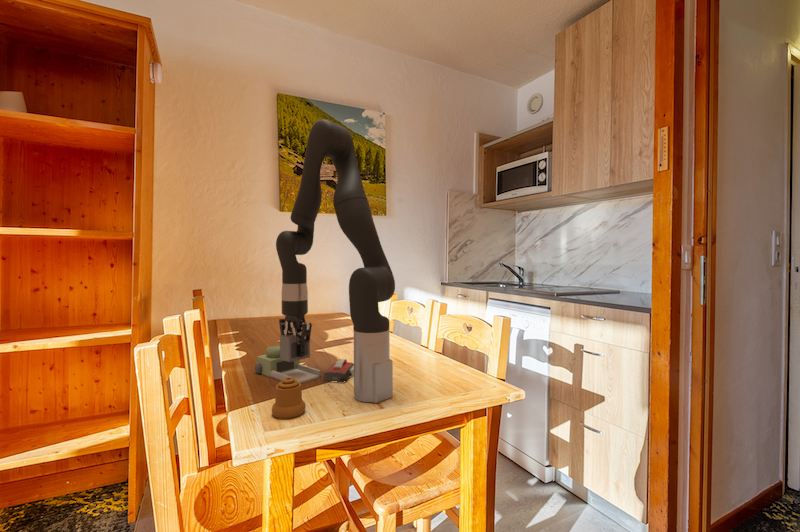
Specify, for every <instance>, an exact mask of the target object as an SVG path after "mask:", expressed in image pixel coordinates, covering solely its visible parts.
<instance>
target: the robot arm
mask: <svg viewBox="0 0 800 532" xmlns="http://www.w3.org/2000/svg"><path fill="white" fill-rule="evenodd" d="M307 137H308V138H307V141H306V147H305V148H306V149H305V155H304V160H303V164H302V165H303V166H302V173H301V179H300V183H299V187H298V191H297V195H296V198H295V201H294V204H293V208H292V210H291V213H290V221H291V222H292V223H293V224H295V225H296V226H297V228H296V229H297V230H296V231H294V230H283V231H281V232H280V233H278V236H277V237H276V241H275V249H276V252H277V253H276V254H277V256H278V260H279V264H280V267H281V270H282V271H281V275H282V276H281V279H282V280H281V281H282V282H281V314H282V316H285V317H284V318H279V319H278V322H279V329H280V330H279V331H280V335H288V334H293V335H294V337H296V342H297V357H303V356H304V355H305V343H307V342H311V334H312V327H313V324H312V322H307V321H306V319H305V316H306V315H307V314H308V313H309V305H308V303H309V301H308V299H309V295H308V285H307V283H308V281H307V280H308V279H307V276H308V275H307V273H308V272H307V266H306V264H304V263H301V262H299V261H298V259H297V256H303V255H306V254H308V253H309V252H310V251H311V250H312V247H313V243H314V236H315V234H314V232H315V223H316V219H317V216H318V213H319V211H320V208H321V206H322V196H323V192H322V185H321V184H322V183H321V171H322V170H321V169H322V165H323V162H324V160H325V158H329V159H331V161H332V162H333V165H334V168H335V172H336V177H337V182H336V186H335V189H334V193H333V197H332V199H333V200H332V203H333V209H334V212H335V215H336V220H337V222H338V225H339V228H340V230H341V231H342V232H343V234H344V235H345V236H346V238H347V239H348V240H349V241H350V242H351V244H352V245H353V246H354V248H355V249H356V251H357V252H358V254H359V256H360V258H361V261H362V264H363V267H359V268H357V269H355V270H354V271H353V272H352V274H351V275H350V278H349V281H348V282H349V283H348V299H349V300H348V301H349V311H350V312H349V315H350V319H351V321H352V325H353V327H352V328H353V364H354V376H353V397H354V399H356V400H357V401H359V402H363V403H374V404H379V403H381V402H383V401H385V400H387V399H391V398H393V396H394V392H393V391H394V390H393V389H394V388H393V387H394V386H393V384H394V382H393V381H394V379H393V375H394V373H393V369H394V368H393V367H394V365H393V364H394V363H393V360H392V359H390V342H391V341H390V319H389V318H388V317H387V316H385V315H382V314H381V313H380V309H379V308H380V307H379V303H382V302H386V301H389V300H390V299H391V298H392V297H394V293H395V291H396V282H395V281H396V280H395V276H394V274H393V271H392V269H391V266H390V263H389V262H388V259H387V257H386V254H385V252H384V249H383V247H382V243H381V241H380V237H379V235H378V231H377V228H376V225H375V222H374V218H373V214H372V210H371V207H370V203H369V200H368V197H367V195H366V192H365V188H364V184H363V181H362V177H361V174H360V171H359V170H360V169H359V166H358V161H357V155H356V149H355V144H354V143H355V142H354V138H353V137H352V134H351V132H350V131H349V130H348V129H347V128H345V127H344V126H342V125H339V124H337V123H334V122H333V121H330V120H328V119H325V118H324V119H318V120H316V122H314V123H313V125H312V126H311V128H310V130H309V133H308V136H307ZM300 332H301V333H300ZM298 333H300V334H298ZM299 336H301V339H300V338H299ZM305 336H306V338H305Z"/></svg>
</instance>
